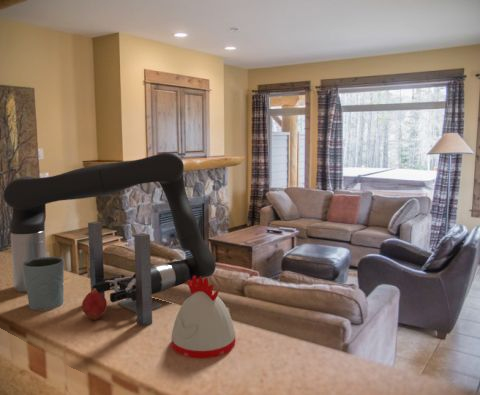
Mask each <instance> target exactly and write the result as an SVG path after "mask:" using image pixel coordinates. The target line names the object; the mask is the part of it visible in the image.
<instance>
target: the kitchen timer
mask: <svg viewBox="0 0 480 395" xmlns="http://www.w3.org/2000/svg"><path fill="white" fill-rule="evenodd" d="M186 283H187V285H188V289H189V291H190V294H191V295H190V296H188V297H187V298H186V299H185V300H184V301H183V303H182V305H181V306H180V308H179V311H178V313H177V315H176V316H175V317H176V318H175V320H174V324H173V327H172V330H171V331H172V332H171V333H172V334H171V347H172V349H173V350H174V351H175V352H176V354H179V355H181V356H183V357H187V358H191V359H192V358H194V359H211V358H215V357H220V356H222V355H225V354H227V353H228V352H230V351H232V349H234V347H235V345H236V330H235V326H234V323H233V320H232V319H233V318H232V317H231V313H230V308H229V307H227V305H226V304H225V303H224V302H223V300H222V299H221V298H220V297H219V296H218V294H219V290H216V291H214V293H213V289H214V283H211V284H209V277H205V278H202V276H201V277H199V279H196V276H192V281H191V280H187V282H186Z"/></svg>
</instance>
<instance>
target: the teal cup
mask: <svg viewBox="0 0 480 395" xmlns="http://www.w3.org/2000/svg"><path fill="white" fill-rule="evenodd" d="M64 262H65V260H64V258H62V257H59V256H46V257H43V258H36V259H32V260H28V261H26V262H24V263H23V270H24V276H25V283H26V287H27V292H26V295H27V300H28V307H29V309H30V310H33V311H49V310H53V309H56V308H59V307H61V306H62V305H63V304H64V266H65V265H64Z"/></svg>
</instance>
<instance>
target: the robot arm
mask: <svg viewBox="0 0 480 395" xmlns="http://www.w3.org/2000/svg"><path fill="white" fill-rule="evenodd" d="M184 166H185V165H184V161H183V160H182V158H181V157H180V156H179V155H178V154H176V153H173V152H168V151H166V152H161V153H158V154H154V155H151V156H145V157H143V158H139V159H135V160H128V161H127V160H126V161H116V162H110V163H101V164H95V165H89V166H84V167H81V168H77V169H73V170H69V171H66V172H64V173H63V172H62V173H60V174H56V175H53V176H45V177H36V178H35V177H33V176H22V177H18V178H16V179H13V180H11V181H10V182H8V184H7V185H5V188H4V190H3V200H4V201H5V203H6V204H7V205H8V206H9V207H10V208H12V216H11V217H12V218H11V221H10V223H9V231H10V244H11V245H10V246H11V257H12V258H11V259H12V260H11V261H12V272H13V273H12V275H13V286H14V287H13V288H14V290H15V291H16V292H20V293H23V292H24V293H25V292H26V293H27V287H26V283H25V276H24V270H23V263H24V262H26V261H28V260H32V259H36V258H43V257H47V247H46V246H47V245H46V244H47V243H46V241H47V240H46V230H45V229H46V227H45V226H46V224H45V223H46V216H47V212H46V211H47V210H46V206H47V204H50V203H54V202H59V201H71V200H81V199H89V198H95V197H96V198H97V197H102V196H107V195H112V194H115V193H118V192H121V191H124V190H127V189H129V188H133V187H134V186H138V185H141V184H149V183H159V185H160V187H161V188H162V190H163V193H164V195H165V198H166V200H167V203H168V205H169V209H170V214H171V217H172V222H173V225H174V230H175V232H176V236H177V238H178V241H179V245H180V247H181V249H182V250H185V251H189V252H190V253H191V257H187V258H185V259H181V260H174V261H169V262H166V263H158V264H155V265H154V264H153V265H151V296H152V295H155V294H158V293H162V292H164V291H166V290H169V289H171V288H174V287H177V286H178V287H179V286H181V285H183V284H186V283H188V282H187V280H191V282H192V276H196V279H197V280H198V279H199V277H201V276H202V279H204V278H210V277H211V276H212V275H213V274H215V271H216V264H217V263H216V260H215V257H214V255H213V253H212V252H211V250H210V248H209V246H208V245H207V243H206V241H205V240H204V239H203V236H202V232H201V229H200V227H199V223H198V221H197V218H196V215H195V213H194V210H193V208H192V206H191V203H190V201H189V197H188V196H187V194H188V193H187V192H186V186H185V180H184V169H185V167H184ZM93 289H96V291H97V292H99V293H101V292H105V293H106V292H108V291H114V292H111V293H110V294H109V300H110V302H111V303H115V302H116V303H117V302H120V301H123V300H128V299H130V298H131V300H132V301H135V300H136V276H135V273H134V274H133V276H125V274H119V275H114V276H110V277H104V283H100V284H96V285H93V287H92V290H93Z"/></svg>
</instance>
